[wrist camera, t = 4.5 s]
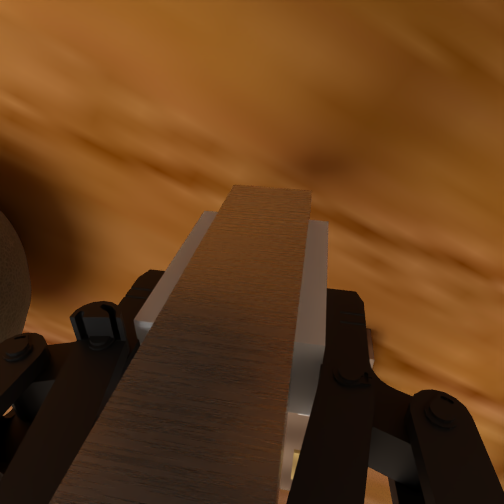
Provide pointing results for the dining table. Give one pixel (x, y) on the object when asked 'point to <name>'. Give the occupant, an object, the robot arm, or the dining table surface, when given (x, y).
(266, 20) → the dining table surface
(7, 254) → the dark grey round ball
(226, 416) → the plug
